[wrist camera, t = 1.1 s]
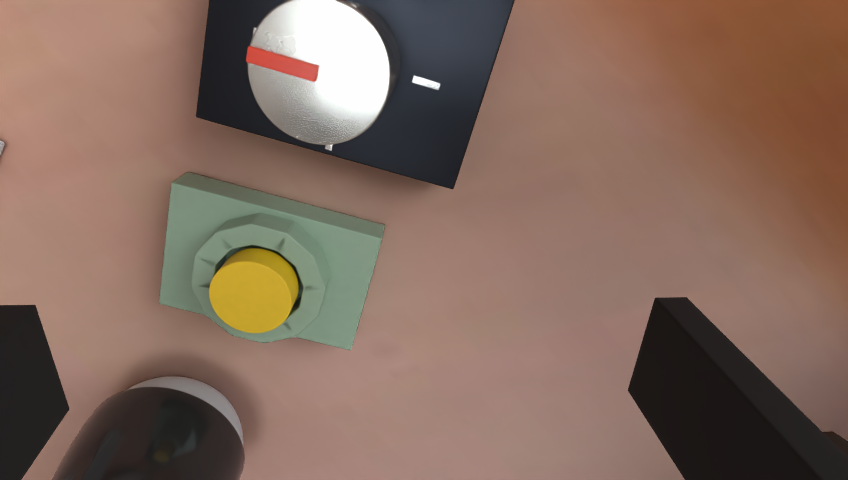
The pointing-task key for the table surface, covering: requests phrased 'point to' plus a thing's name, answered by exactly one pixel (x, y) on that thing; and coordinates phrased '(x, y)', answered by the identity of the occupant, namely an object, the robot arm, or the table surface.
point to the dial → (323, 68)
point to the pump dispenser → (158, 435)
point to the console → (410, 98)
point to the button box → (280, 233)
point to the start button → (254, 290)
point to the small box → (1, 146)
